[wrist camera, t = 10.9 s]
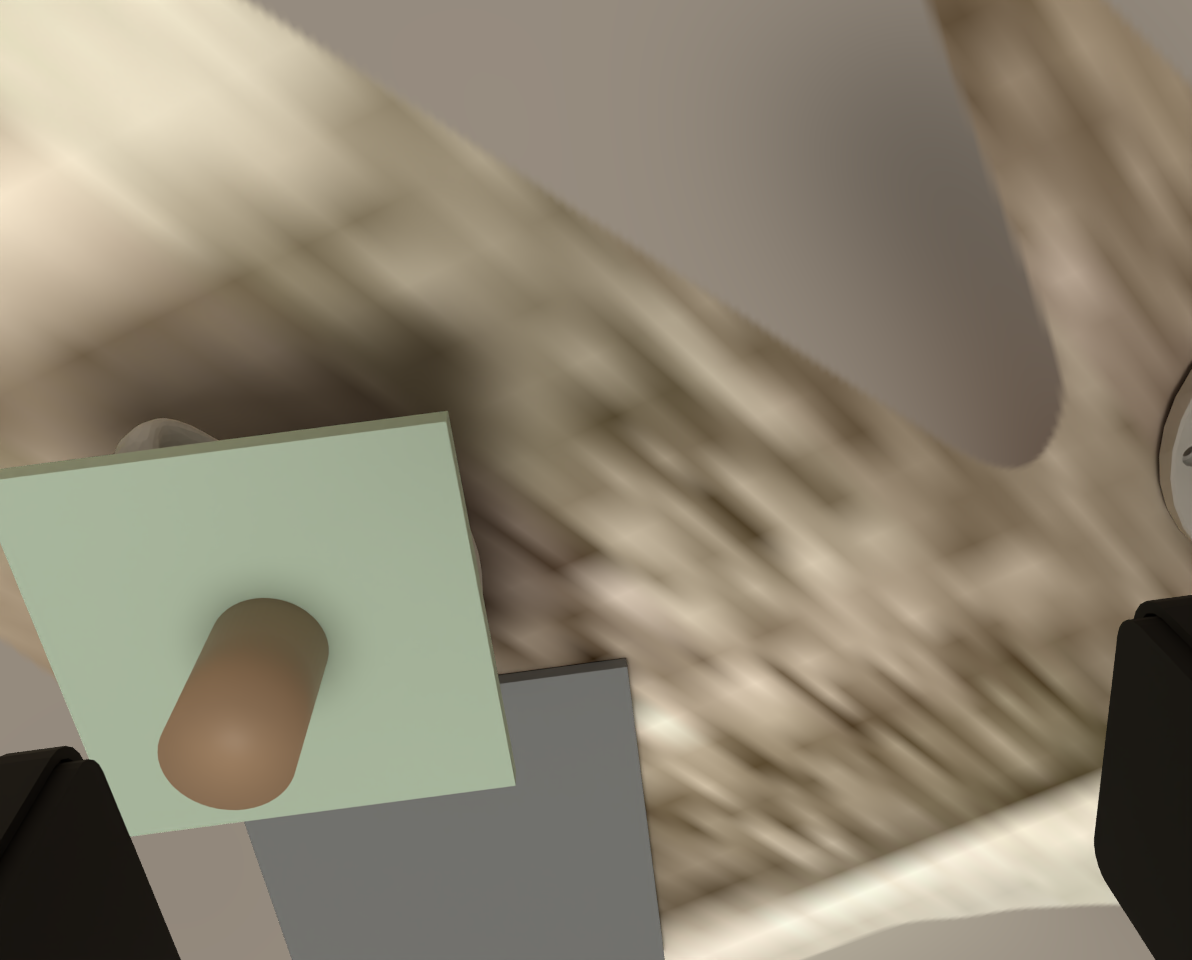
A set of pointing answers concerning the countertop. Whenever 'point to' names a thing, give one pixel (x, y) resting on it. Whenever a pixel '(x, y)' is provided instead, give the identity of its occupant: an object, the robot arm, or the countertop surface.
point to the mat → (487, 848)
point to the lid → (265, 621)
